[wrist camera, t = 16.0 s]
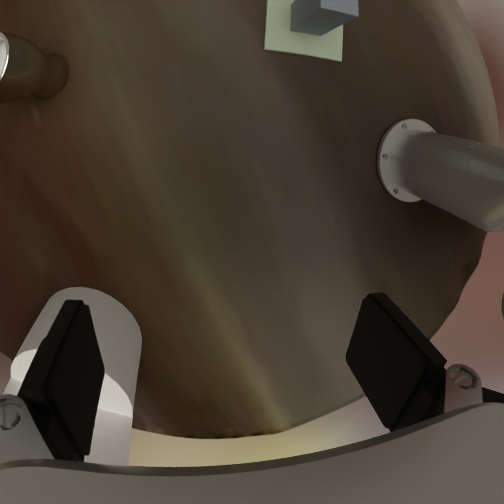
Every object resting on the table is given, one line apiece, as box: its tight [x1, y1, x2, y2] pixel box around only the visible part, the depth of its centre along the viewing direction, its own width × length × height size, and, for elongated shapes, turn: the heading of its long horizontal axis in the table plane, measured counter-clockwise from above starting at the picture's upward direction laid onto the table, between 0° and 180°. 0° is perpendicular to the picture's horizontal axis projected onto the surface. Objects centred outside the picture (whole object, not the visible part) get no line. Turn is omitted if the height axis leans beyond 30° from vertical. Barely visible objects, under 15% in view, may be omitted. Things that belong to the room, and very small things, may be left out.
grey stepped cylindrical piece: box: [3, 287, 142, 466], centre depth 31 cm, size 17×17×28 cm
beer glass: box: [0, 32, 68, 103], centre depth 21 cm, size 7×7×15 cm
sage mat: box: [264, 0, 343, 62], centre depth 31 cm, size 10×10×1 cm
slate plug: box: [290, 0, 358, 36], centre depth 26 cm, size 4×4×10 cm
